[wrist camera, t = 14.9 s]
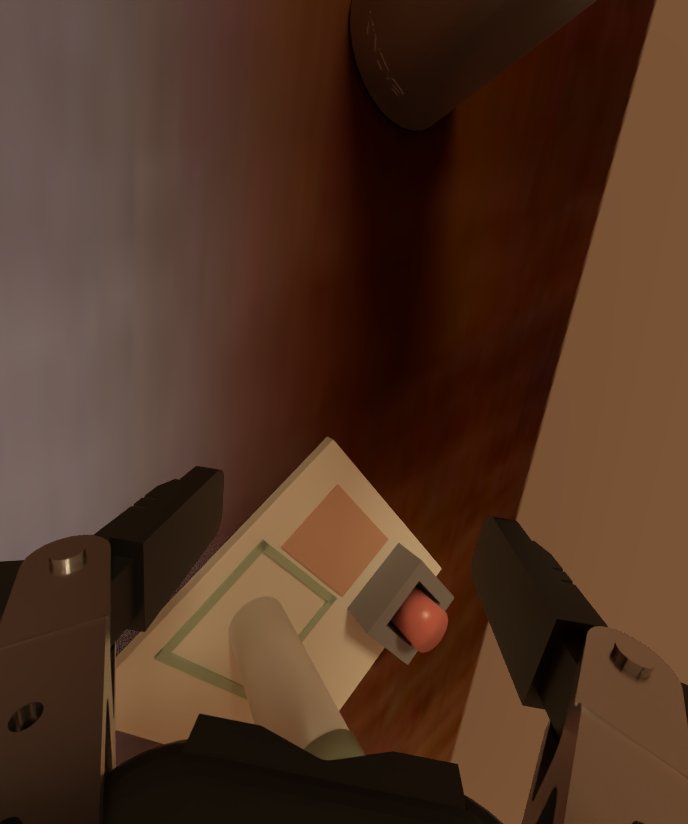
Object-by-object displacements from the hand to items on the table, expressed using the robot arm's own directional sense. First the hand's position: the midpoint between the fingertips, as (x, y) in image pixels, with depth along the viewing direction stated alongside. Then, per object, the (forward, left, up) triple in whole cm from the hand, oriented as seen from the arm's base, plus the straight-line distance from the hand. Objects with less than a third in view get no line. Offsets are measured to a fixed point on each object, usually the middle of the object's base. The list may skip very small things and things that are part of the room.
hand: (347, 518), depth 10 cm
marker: (+9, +11, -13) cm, 19 cm away
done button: (+1, +22, -11) cm, 24 cm away
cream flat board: (+7, +16, -14) cm, 22 cm away
